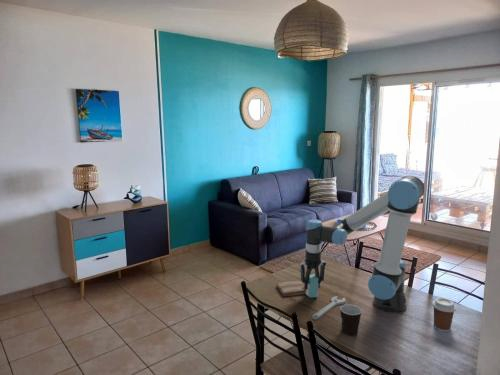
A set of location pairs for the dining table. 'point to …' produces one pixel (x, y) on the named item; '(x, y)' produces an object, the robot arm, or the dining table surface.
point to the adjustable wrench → (329, 307)
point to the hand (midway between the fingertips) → (311, 294)
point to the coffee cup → (443, 313)
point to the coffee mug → (350, 319)
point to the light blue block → (313, 286)
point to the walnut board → (291, 288)
